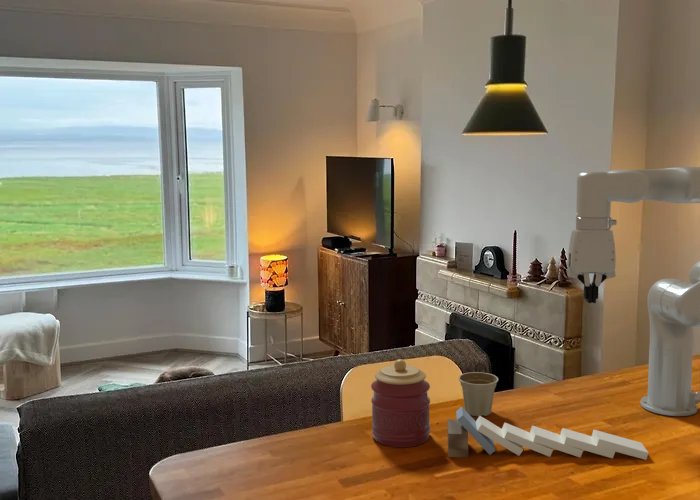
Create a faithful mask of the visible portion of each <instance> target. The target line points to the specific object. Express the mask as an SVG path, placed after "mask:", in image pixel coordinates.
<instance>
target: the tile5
mask: <svg viewBox="0 0 700 500" xmlns="http://www.w3.org/2000/svg"><path fill="white" fill-rule="evenodd" d="M475 421H476V426H477V431H479V432H480V433H482V434H484V435H485V436H487V437H489V438H490V439H492V440H493V441H494V443H496V444H498V445H500V446H502V447H503V448H505V449H506V450H509V451H510V452H511V453H514V454H515V455H516V456H518V457H519V456H520V455H521V454H522V453H523V451H524V448H523V447H524V446H522V445H519V444H517V443H515V442H512V441H510V440H507V439H505V438H504V436H503V432H502V427H500V426H497V425H496V424H495V423H493V422H491V421H490V420H488V419H486V418H484V417H483V416H479V417H477V419H476V420H475Z"/></svg>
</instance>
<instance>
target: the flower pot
mask: <svg viewBox="0 0 700 500" xmlns="http://www.w3.org/2000/svg"><path fill="white" fill-rule="evenodd" d="M458 381H459V382H460V386H461V390H462V397H463V403H464V404H463V405H464V409H465V411H466V412H467V413H468V414H469V415H470V416H471V417H477V418H478V417H479V416H481V417H483V416H484V417H487V416H489V415H491V414H492V409H493V402H494V401H493V400H494V395H495V389H496V387H497V383H499V377H498V376H496V375H495V374H492V373H487V372H481V371H479V372H478V371H473V372H472V371H471V372H465V373H462V374H460V375H459V376H458Z"/></svg>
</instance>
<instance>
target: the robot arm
mask: <svg viewBox="0 0 700 500" xmlns="http://www.w3.org/2000/svg"><path fill="white" fill-rule="evenodd" d="M640 201H655V202H663V203H671V204H700V166H680V167H679V166H678V167H677V166H676V167H666V168H654V169H653V168H651V169H648V168H647V169H645V168H644V169H612V170H609V171H595V170H594V171H582V172H580V173H578V175H577V177H576V208H575V209H576V210H575V229H573V230H571V232H570V233H571V234H570V239H569V246H568V254H567V268H568V271H567V276H568V277H569V278H572V279H576V280H578V281H579V282H581V284H582V285H583V299H584V300H585V302H586V303H588V304H596V303H597V300H598V299H599V287H600V286H601V284H602V283H603V282H604V281H606V280H608V279H612V278H616V265H617V263H616V261H617V259H616V258H617V257H616V244H615V236H614V231H613V230H611V228H612V227H614V226H617V219H613V218H612V217H611V211H612V210H611V207H612V206H611V205H612V204H611V203H613V202H616V203H617V202H618V203H624V204H635V203H639V202H640ZM590 274H593V276H592V281H591V282H590V280H591V279H590ZM688 278H689V282H688V281H684V280H681V279H678V278H673V277H672V278H671V277H670V278H662V279H659V280H657V281H656V282H654V283H653V284H652V286H650V288H649V291H648V293H647V299H646V301H647V303H646V304H647V310H648V318H649V320H648V321H649V346H648V347H649V348H648V349H649V351H648V354H649V355H648V373H647V374H648V378H647V379H648V380H647V395H644V396H642V398H641V399H640V405H641V407H642V408H643V409H645V410H647V411H648V412H651V413H654V414H659V415H662V416H671V417H686V416H687V417H688V416H692V415H694V414H696V413H697V412H698V404H699V403H700V391H695V392H694V391H693V390H692V380H693V379H692V375H693V356H694V354H693V353H694V352H693V351H694V329H693V328H700V260H698V261H697V262H696V263H695V264H693V266H691V268H690V270H689V274H688Z"/></svg>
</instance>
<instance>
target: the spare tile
mask: <svg viewBox="0 0 700 500" xmlns="http://www.w3.org/2000/svg"><path fill="white" fill-rule="evenodd" d="M455 412H456V413H455V415H456V420H458V421H459V423H460V424H461V425H462V426H463V427H464V428H465V429H466V430H467V431H468V434H470V435H471V437H472V438H473V439H474V440H475V441H476V442H477V443H478V444H479V446H481V447H482V448H483V449H484V451H486V453H487V454H488V455H489V456H491V455H492V454H493V453H494V452H495V451H496V445H495V441H494V440H492V439H490V438H489V437H487V436H485V435H484V434H482V433H480V432H479V431H477V426H476V420H475V419H474V418H473V416H472V415H469V414H468V413H467V412H466V411H465V407H463V406H461V407H460V408H458V409H457V410H456V411H455Z"/></svg>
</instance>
